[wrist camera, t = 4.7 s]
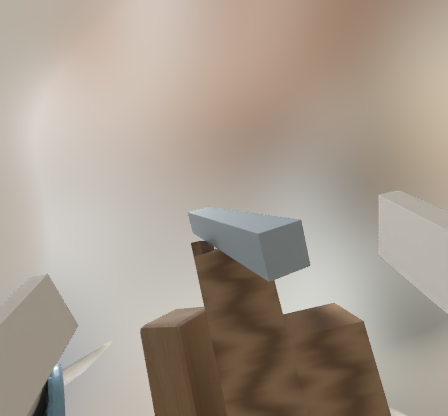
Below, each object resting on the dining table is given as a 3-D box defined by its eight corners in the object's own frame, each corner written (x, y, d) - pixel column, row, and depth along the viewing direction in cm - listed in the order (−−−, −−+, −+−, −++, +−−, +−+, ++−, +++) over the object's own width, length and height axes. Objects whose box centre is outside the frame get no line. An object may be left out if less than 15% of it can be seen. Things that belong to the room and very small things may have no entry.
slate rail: (269, 281, 18) (258, 233, 17) (192, 232, 42) (187, 212, 42) (310, 265, 19) (301, 219, 18) (212, 226, 43) (207, 206, 43)
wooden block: (196, 411, 51) (175, 307, 53) (239, 418, 46) (214, 304, 48) (158, 452, 42) (136, 327, 45) (206, 467, 37) (179, 325, 40)
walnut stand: (259, 568, 24) (190, 243, 29) (250, 439, 40) (206, 242, 45) (425, 532, 24) (331, 210, 28) (350, 417, 40) (297, 221, 44)
